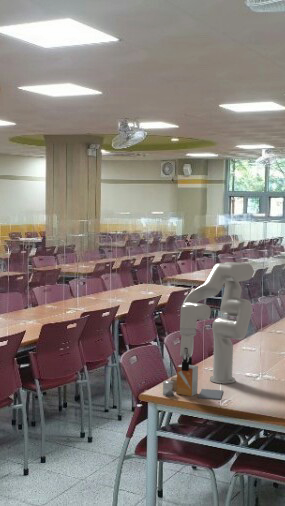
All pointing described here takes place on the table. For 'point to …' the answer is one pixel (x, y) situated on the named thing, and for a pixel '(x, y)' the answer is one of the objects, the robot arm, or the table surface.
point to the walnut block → (174, 382)
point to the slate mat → (210, 394)
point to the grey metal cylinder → (168, 388)
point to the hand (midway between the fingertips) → (186, 368)
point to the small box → (187, 380)
